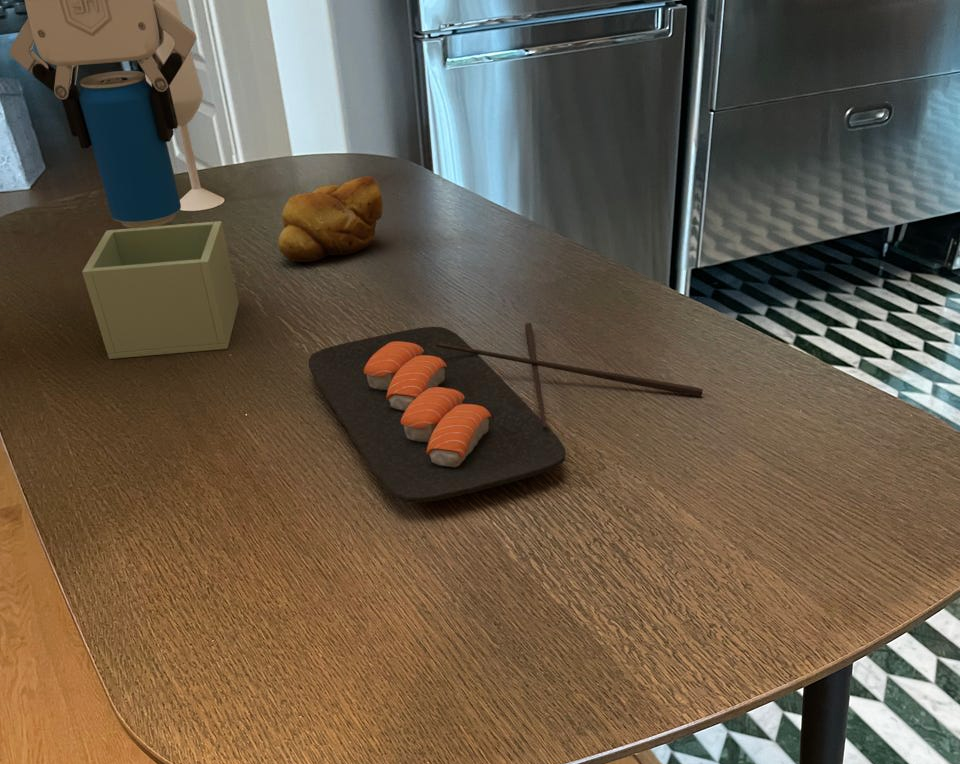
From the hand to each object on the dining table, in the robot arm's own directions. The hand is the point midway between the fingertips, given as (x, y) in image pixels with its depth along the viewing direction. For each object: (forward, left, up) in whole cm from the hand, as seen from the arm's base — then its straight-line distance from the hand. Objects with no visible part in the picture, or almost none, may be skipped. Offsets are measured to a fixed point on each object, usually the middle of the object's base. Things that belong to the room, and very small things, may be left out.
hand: (128, 139), depth 91 cm
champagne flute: (-3, +43, -18) cm, 47 cm away
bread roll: (+15, +20, -18) cm, 31 cm away
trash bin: (0, 0, -18) cm, 18 cm away
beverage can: (0, 0, -7) cm, 7 cm away
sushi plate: (+32, -22, -18) cm, 43 cm away
